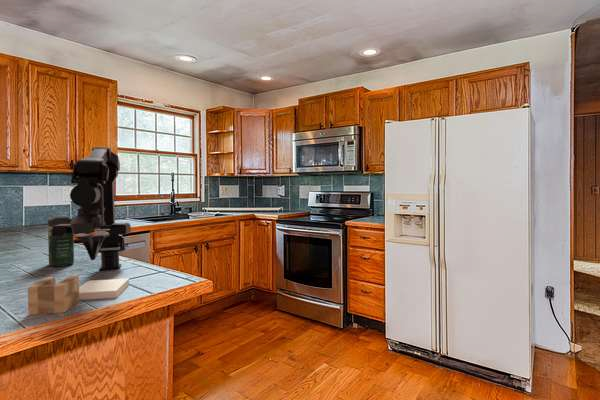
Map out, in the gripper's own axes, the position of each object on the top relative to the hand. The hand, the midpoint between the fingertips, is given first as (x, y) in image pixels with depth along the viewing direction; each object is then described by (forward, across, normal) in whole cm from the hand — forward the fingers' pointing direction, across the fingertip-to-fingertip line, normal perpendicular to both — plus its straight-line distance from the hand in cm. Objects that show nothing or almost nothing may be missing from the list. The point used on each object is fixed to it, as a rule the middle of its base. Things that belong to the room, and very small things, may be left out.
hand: (93, 259), depth 97 cm
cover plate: (+8, -3, -1) cm, 9 cm away
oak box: (+9, -4, -12) cm, 16 cm away
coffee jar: (+9, -25, +40) cm, 48 cm away
